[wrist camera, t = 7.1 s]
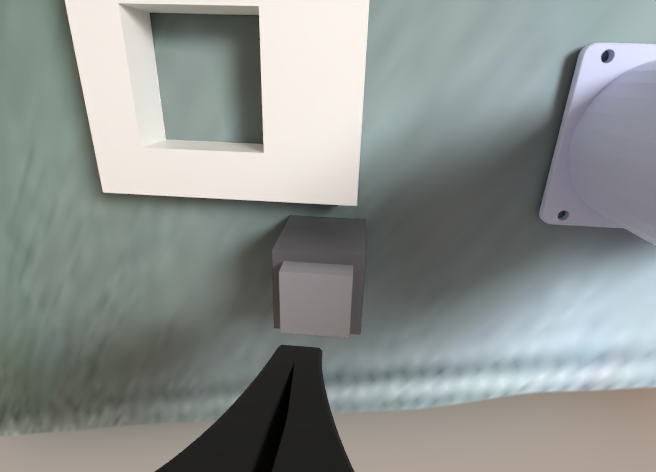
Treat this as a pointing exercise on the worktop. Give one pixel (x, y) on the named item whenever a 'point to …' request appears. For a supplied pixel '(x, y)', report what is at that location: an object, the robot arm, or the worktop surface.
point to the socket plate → (277, 102)
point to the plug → (319, 276)
